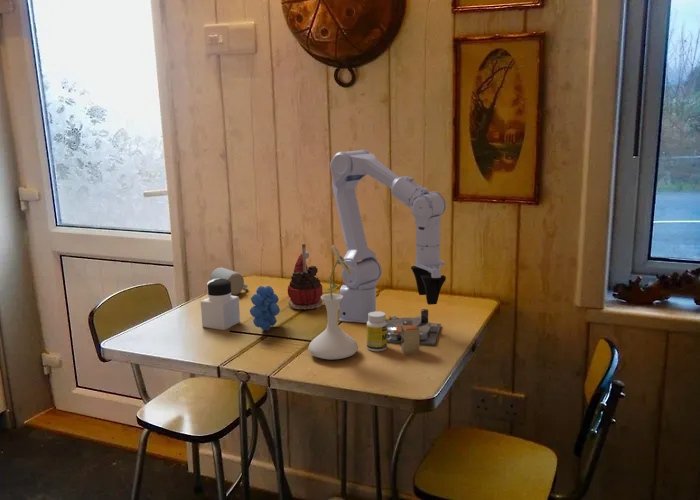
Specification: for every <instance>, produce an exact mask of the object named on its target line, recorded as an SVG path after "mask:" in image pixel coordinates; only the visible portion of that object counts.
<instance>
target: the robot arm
mask: <svg viewBox="0 0 700 500" xmlns="http://www.w3.org/2000/svg"><path fill="white" fill-rule="evenodd" d="M329 167H330V172H331V177H332V183H331V184H332V185H331V186H332V190H333V195H334V199H335V203H336V208H337V212H338V217H339V222H340V226H341V230H342V235H343V239H344V244H345V248H346V254H345V255H344V256H343V258H344V262H345V263H346V264H347V265H348V266H349V268H350V269H349V270H350V271H351V272H352V273H351V274H350V275H349V274H348V273H347V272H346V271H345V270H344V268H343V267H342V266H341V267H342V268H341V269H342V271H341V278H342V281H343V283H344V284H342V285H341V286H340V289H339V294H340V295H343V298H342V300H341V301H340V304H339V307H338V311H339V318H338V321H339V322H348V323H361V324H362V323H364V324H365V323H366V324H367V322H368V321H369V320H368V314H369V313H370V312H375V311H377V285H378V281H379V280H380V279H381V276H382V274H383V273H382V272H383V271H382V270H383V269H382V265H381V264H380V262H379V261H378V258H377V255H376V253H375V251H373V250H372V249H370V248H369V247H368V242H367V238H366V234H365V229H364V224H363V220H362V217H361V213H360V208H359V203H358V199H357V193H356V190H355V189H356V187H357V186H358V184H359V183H360V181H362V180H363V179H364V178H365V177H366V176H370V177H371V178H373V179H374V180H376V181H378V182H379V183H381V184H382V185H384V186H386V187H387V188H389V189H390V191H391V195H392V196H393V197H394V198H395V199H396V200H398V201H399V202H401V203H402V204H403V205H404V206H407V207H408V208H409V209H410V211H411V214H412V215H413V217H414V224H415V227H416V230H415V231H416V232H415V234H416V235H415V236H416V237H415V261H414V265H412V266H410V269H411V271H412V273H413V276H414V278H415V282H416V283H415V284H416V288H417V293H418V295H419V296H425V298H426V299H425V300H426V303H427V305H429V306H430V305H437V303H438V301H439V296H440V292H441V289H442V288H443V287H442V286H444V283H445V282H446V279H447V276H446V275H442V269H441V266H445V265H446V261H444V260H441V234H442V233H441V231H442V230H441V227H442V225H441V223H442V221H441V219H442V217H441V216H442V215H443V214H444V213H445V211H446V208H447V202H446V200H445V197H444V196H443V195H442V194H441V193H440V192H438V191H429V188H427V187H424V186H422V185H421V184H419V183H417V182H416V181H414V177H412V176H406V175H404V176H398V175H397V174H396V173H395V172H394V171H392V170H391V169H390V168H388V166H386V165H384V163H382V162H381V161H379V160H378V159H377V157H376V155H375V154H373V153H372V152H370V151H369V150H367V149H359V150H350V151H339V152H336V153H335V154H334V155H333V157H332V159H331V161H330V162H329Z"/></svg>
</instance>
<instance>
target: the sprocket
mask: <svg viewBox="0 0 700 500" xmlns="http://www.w3.org/2000/svg"><path fill="white" fill-rule="evenodd" d="M388 320H389V321H387V334H388V335H390V339H393V340H398V339H399V338H401V325H417V326H418V328H419V330H420V340H425V339H427V335H428V334H429V333H430V332H438V325H437V324H438V323H437V324H430V323H431V322H429V309H428V308H427V309H426V308H423V309H421V310H420V315H418V316H416V317H398V316H397V315H393V316H389V319H388Z"/></svg>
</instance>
